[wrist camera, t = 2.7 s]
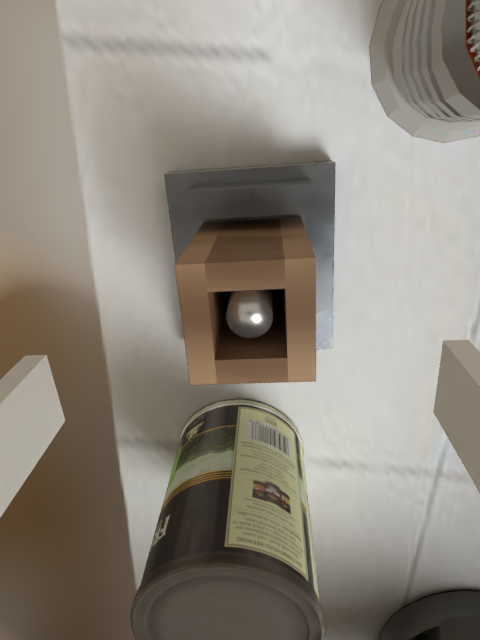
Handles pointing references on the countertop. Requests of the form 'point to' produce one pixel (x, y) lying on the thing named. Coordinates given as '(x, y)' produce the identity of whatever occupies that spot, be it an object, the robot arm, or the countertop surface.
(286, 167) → the peg stand
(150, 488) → the countertop surface
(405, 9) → the french press
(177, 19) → the countertop surface
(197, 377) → the sleeve
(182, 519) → the coffee can
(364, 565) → the countertop surface
